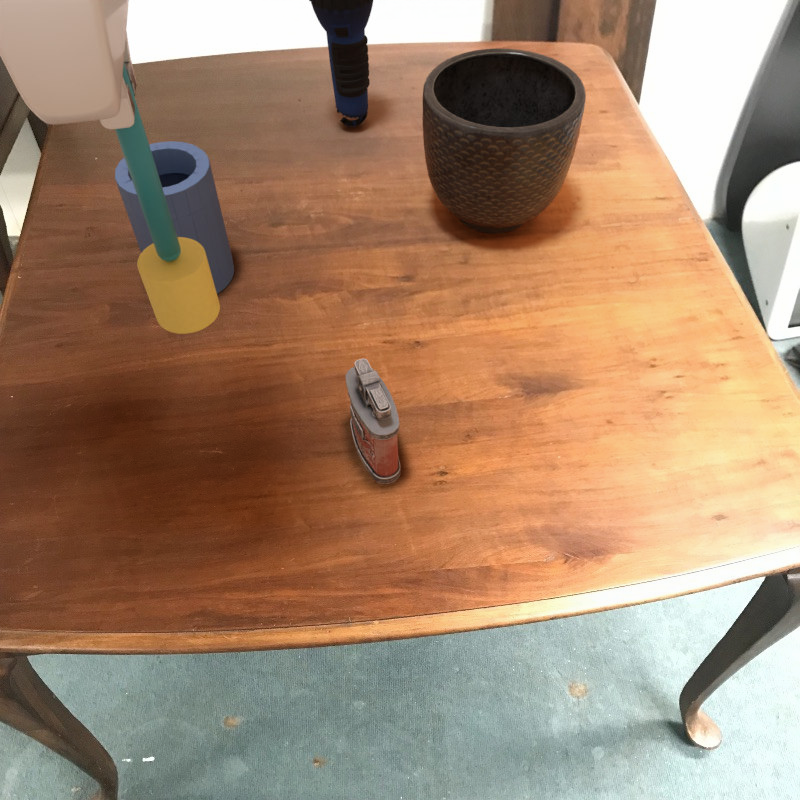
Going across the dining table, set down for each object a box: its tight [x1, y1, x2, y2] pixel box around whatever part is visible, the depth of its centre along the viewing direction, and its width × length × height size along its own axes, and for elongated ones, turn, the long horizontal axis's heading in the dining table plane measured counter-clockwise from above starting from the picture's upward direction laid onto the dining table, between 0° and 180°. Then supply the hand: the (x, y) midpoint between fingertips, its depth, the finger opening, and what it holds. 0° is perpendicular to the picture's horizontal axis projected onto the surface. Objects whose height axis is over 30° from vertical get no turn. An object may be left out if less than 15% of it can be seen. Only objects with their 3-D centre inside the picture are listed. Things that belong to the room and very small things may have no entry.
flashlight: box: [308, 0, 374, 128], centre depth 98 cm, size 8×8×20 cm
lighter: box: [345, 358, 402, 485], centre depth 68 cm, size 8×3×10 cm, turn 22°
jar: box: [114, 140, 235, 295], centre depth 82 cm, size 9×9×14 cm
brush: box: [114, 64, 221, 335], centre depth 48 cm, size 5×5×21 cm
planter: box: [422, 47, 587, 235], centre depth 88 cm, size 17×17×16 cm
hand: (121, 108), depth 44 cm, fingers closed on brush
